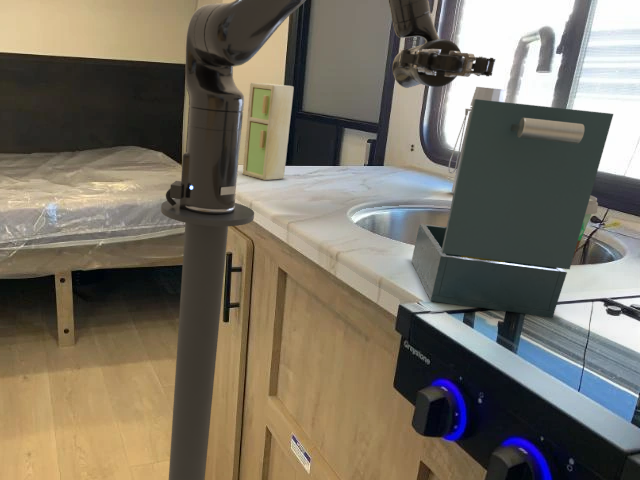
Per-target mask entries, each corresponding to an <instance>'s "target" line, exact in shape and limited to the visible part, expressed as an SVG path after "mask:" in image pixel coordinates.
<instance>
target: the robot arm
mask: <svg viewBox="0 0 640 480" xmlns="http://www.w3.org/2000/svg"><path fill="white" fill-rule="evenodd" d="M306 1H307V0H234V1H231V2H225V3H223V2H221V3H206V4H204V5H201V6H200V7H198V8H197V9H196V10H194V12H193V13H192V15H191V17H190V19H189V22H188V25H187V30H186V37H185V38H186V39H185V71H184V73H185V77H184V78H185V79H184V80H185V88H186V91H187V94H188V113H187V129H186V145H185V152H184V153H183V154H182V159H181V160H182V162H181V178H180V180H175V181H173V182H172V183H171V184H170V188H169V189H168V190H167V191H166V193H165V200H166V201H168V202H169V203H170V204H171V205H172V206H173V205H175V204H176V202H175V201H174V200H173V199H180V209H184V210H188V211H191V212H195V213H200V214H208V215H224V214H230V213H233V212H234V209H235V205H234V203H236V192H237V182H238V170H239V159H240V151H241V139H242V129H243V118H244V106H245V96H244V94H243V92H242V91H241V90H240V89H239V88H238V87H237V85H236V82H235V80H234V68H235V67H239V66H243V65H244V64H246V63H247V62H249V61H251V59H253V58H254V56H255V55H256V54H258V52H259V51H260V50H261V49H262V47H264V45H266V43H267V42H268V41H269V40H270V38H271V37H272V36H273V34H274V33H275V32H276V31H277V30H278V29H279V28H280V26H281V25H282V24H283V23H284V22H285V21H286V20H287V19H288V18H289V17H290V16H291V15H292V14H293V13H295V11H296V10H297V9H298V8H300V7H301V6H302V5H303V4H304V3H305V2H306ZM388 4H389V9H390V15H391V19H392V24H393V31H394V32H395V35H396V36H397V37H398V38H401V39H404V38H406V39H407V38H414V37H416V38H417V37H419V38H422V39H423V40H424V43H423V44H419V45H417V46H414V47H411V48H405V49H402V50H400V52H398V53H397V55H395V57H394V59H393V62H392V75H393V77H394V79H395V81H396V83H397V84H398V85H399V86H400V87H402V88H404V89H410V88H413V87H416V86H418V85H422V86H425V87H431V88H441V87H444V86H447V85H449V84H450V83H452V82H454V81H455V79H456V78H457V77H466V78H468V77H470V76H471V75H475V76H477V77H480V76H485V77H490V76H491V77H492V76H493V72H494V71H493V70H494V66H495V63H496V58H494V57H489V58H487V57H484V56H481V55H480V56H475V54H474V53H469V52H462V51H461V49H460V48H459V46H458V45H457V44H456V43H455V42H453V41H452V40H450V39H445V38H440V37H439V35H438V31H437V30H436V27H435V25H434V22H433V18H432V15H431V7H430V2H429V0H388Z"/></svg>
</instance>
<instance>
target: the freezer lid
mask: <svg viewBox="0 0 640 480" xmlns="http://www.w3.org/2000/svg"><path fill="white" fill-rule="evenodd" d="M471 107H472V110H471V111H470V112H471V115H470V119H469V124H468V129H467V133H466V138H465V143H464V147H463V152H462V157H461V162H460V166H459V171H458V176H457V180H456V185H455V190H454V194H453V193H452V194H453V195H452V200H451V203H450V204H451V205H450V209H449V214H448V219H447V222H446V226H445V227H446V232H445V237H444V241H443V246H442V251H441V252H442V253H445V254H452V255H460V256H468V257H476V258H484V259H492V260H499V261H507V262H515V263H523V264H531V265H538V266H546V267H554V268H562V269H563V270H571V266H572V262H573V259H574V257H575V255H574V252H575V249H576V245H577V242H578V238H579V235H580V231H581V228H582V224H583V220H584V217H585V213H586V210H587V206H588V203H589V199H590V196H592V192H593V188H594V186H595V185H594V184H595V181H596V178H597V174H598V170H599V167H600V164H601V160H602V156H603V153H604V149H605V146H606V142H607V138H608V136H609V132H610V128H611V124H612V121H613V117H614V113H609V112H599V111H591V110H590V111H589V110H581V109H572V108H562V107H555V106H554V107H552V106H544V105H534V104H526V103H515V102H508V101H507V102H506V101H504V102H498V101H489V100H479V99H474V101H473V105H472V106H471ZM573 256H574V257H573Z"/></svg>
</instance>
